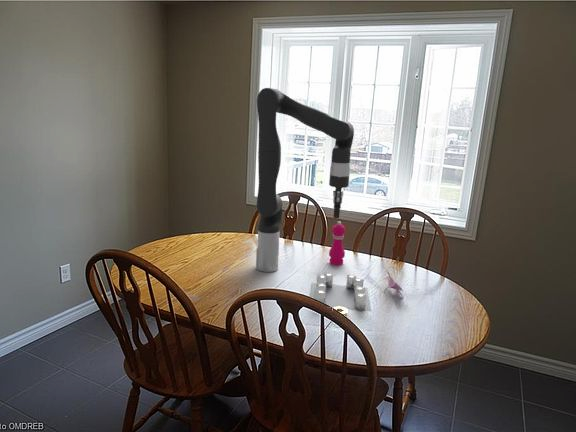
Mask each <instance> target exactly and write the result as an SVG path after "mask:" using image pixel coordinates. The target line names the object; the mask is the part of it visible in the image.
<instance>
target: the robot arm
mask: <svg viewBox="0 0 576 432" xmlns="http://www.w3.org/2000/svg"><path fill="white" fill-rule="evenodd" d="M256 108H257V109H256V110H257V118H258V148H257V149H258V152H257V154H258V156H257V157H258V158H257V160H258V162H257V163H258V168H257V169H258V188H257V189H258V190H257V195H256V196H257V199H256V210H257V211H258V213H259V215H260V219H259V222H258V224H257V248H256V254H255V256H256V258H255V270H256V271H260V272H265V273H272V272H276V271H277V270H279V256H280V255H279V254H280V251H279V250H280V230H281V224H282V215H283V201H282V198H281V196H280V195H279V194H277V182H278V181H277V180H278V176H279V172H280V169H281V164H282V163H281V161H282V146H281V145H282V144H281V140H280V137H279V134H278V130H277V129H278V128H277V113H278V114H282V115H285V116H289V117H291V118H293V119H295V120H296V121H298V122H300V123H302V124H303V125H305V126H307V127H309V128H312V129H314V130H316V131H319V132H322V133H323V134H325V135H327V136H329V137H330V138H333V139H334V140H335V142H334V144H335V145H334V147H333V148H332V151H331V162H330V168H329V169H330V170H329V181H328V185H329V186H330V187H331V188H335V189H333V192H332V196H333V198H332V203H333V218H334V219H339V218H340V212H341V211H340V210H341V208H342V206H341V205H342V203H343V197H344V191H343V190H342V189H344V188H348V187H349V186H350V185H349V184H350V171H351V166H350V165H351V151H352V146H353V140H354V135H355V128H354V125H353V124H352V123H351V122H350V121H345V120H340V119H337V118H335V117H332V116H331V115H330V114H328V113H326V112H324V111H321V110H318V109H316V108H313V107H311V106H308V105H306V104H304V103H301V102H299V101H297V100H295V99H293V98H291V97H289V96H288V95H286V94H285V93H284V92H282V91H281V90H279V89H277V88H271V87H264V88H262V89H261V90H259V92H258V94H257V99H256Z"/></svg>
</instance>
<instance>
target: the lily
mask: <svg viewBox="0 0 576 432" xmlns="http://www.w3.org/2000/svg"><path fill="white" fill-rule="evenodd" d="M384 270H385V271H386V273H387V275H388V276H386V279H387V280H388V284H387V285H388V286H387V287H386V288H385V289H384V290H383V294H385V293H386V291H387V290H388V289H389V288H391V289H393V290H395V291H397V292H398V293H399V294H400V295H401V297H402V298H404V296H403V294H402V293H401V291H402V292H404V290H403V288H402V287H401V286H400V284H398V282H397V281H395V280H394V278H392V277H393V276H391V274H390V272H389V270H387V269H386V268H384Z"/></svg>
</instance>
